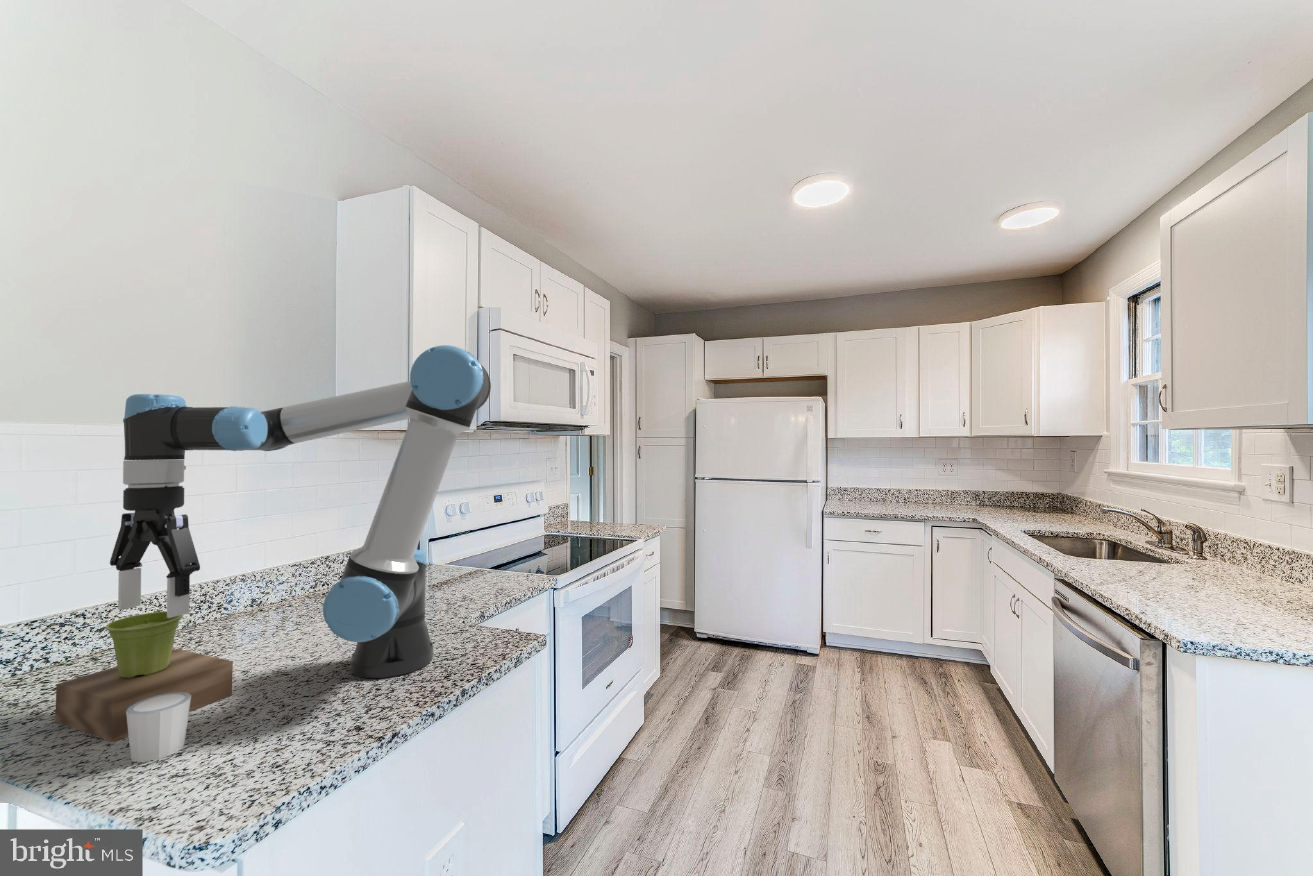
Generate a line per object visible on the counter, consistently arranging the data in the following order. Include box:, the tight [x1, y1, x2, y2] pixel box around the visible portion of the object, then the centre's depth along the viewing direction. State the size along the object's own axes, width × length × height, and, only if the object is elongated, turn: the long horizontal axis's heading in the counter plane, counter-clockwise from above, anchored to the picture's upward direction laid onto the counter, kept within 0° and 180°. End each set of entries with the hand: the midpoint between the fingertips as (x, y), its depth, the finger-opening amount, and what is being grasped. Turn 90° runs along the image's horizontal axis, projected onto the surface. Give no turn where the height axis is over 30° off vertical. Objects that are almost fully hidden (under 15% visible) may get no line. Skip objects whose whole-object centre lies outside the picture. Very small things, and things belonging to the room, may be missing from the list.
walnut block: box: [54, 648, 234, 743], centre depth 89 cm, size 16×16×6 cm
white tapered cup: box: [126, 692, 191, 763], centre depth 76 cm, size 7×7×7 cm
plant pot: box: [104, 610, 184, 678], centre depth 89 cm, size 9×9×9 cm
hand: (153, 611), depth 89 cm, fingers open, 13 cm apart
